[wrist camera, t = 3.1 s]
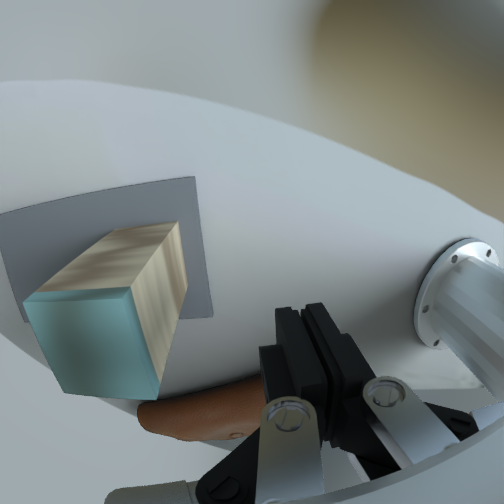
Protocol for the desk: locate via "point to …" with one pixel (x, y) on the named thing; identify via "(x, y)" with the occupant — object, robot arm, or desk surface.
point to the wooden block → (113, 313)
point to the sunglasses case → (208, 412)
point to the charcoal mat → (102, 235)
